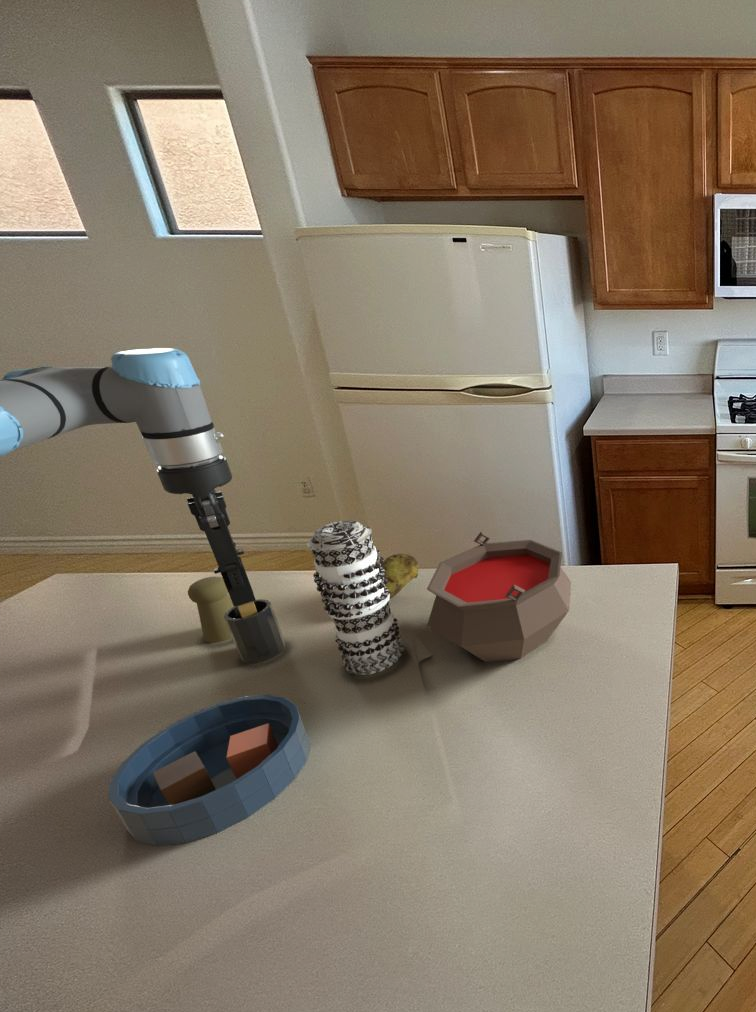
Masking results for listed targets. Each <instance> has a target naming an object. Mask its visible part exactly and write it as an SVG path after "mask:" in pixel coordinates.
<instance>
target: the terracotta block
mask: <svg viewBox="0 0 756 1012" xmlns="http://www.w3.org/2000/svg"><path fill="white" fill-rule="evenodd" d="M277 748H278V744H277V742H276V739H275V737H274V734H273V732H272V729H271V727H270V724H269V723H267V724H265V725H262V726H259V727H256V728H253V729H250V730H247V731H244V732H241V733H238V734H235V735H232V736H230V740H229V746H228V751H227V757H226V758H227V760H228V762H229V765H230V767H231V769H232V771H233V773H234V776H235V778H236V779H238V778H240V777H241V776H243V775H244V774H246V773H247V772H249V771H250V770H252V769H254V768H255V767H257V766H258V765H259V764H260V763H261V762H262V761H264V760H265V759H266V758H267V757H268V756H269V755H270V754H271V753H273V752H274V751H275V750H276V749H277Z"/></svg>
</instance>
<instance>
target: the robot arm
mask: <svg viewBox="0 0 756 1012" xmlns="http://www.w3.org/2000/svg"><path fill="white" fill-rule="evenodd" d="M110 362H111V364H112V365H111V366H81V367H80V366H75V367H73V366H71V367H69V366H68V367H53V366H40V367H33V368H21V369H20V368H19V369H15V370H11V371H8V372H7V373H6V374H4V375H3V378H1V379H0V457H3V456H6V455H8V454H9V453H13V452H15V451H18V450H20V449H24V448H26V447H28V446H31V445H34V444H37V443H39V442H42V441H45V440H49V439H51V438H54V437H58V436H60V435H64V434H67V433H69V432H72V431H75V430H77V429H81V428H84V427H88V426H93V425H106V424H109V425H110V424H131V423H136V425H137V428H138V430H139V432H140V434H141V438H142V442H143V444H144V446H145V448H146V451H147V454H148V455H149V458H150V460H151V462H152V464H153V465H156V466H157V468H156V469H155V472H156V473H157V476H158V478H159V480H160V483H161V486H162V488H163V490H164V491H165V492H166V493H169V494H172V495H183V494H187V495H188V494H189V495H191V497H187V498H186V501H187V506H188V509H189V511H190V513H191V515H192V516H194V517H195V521H196V522H197V525H198V528H199V530H200V531H201V532H204V534H205V536H206V538H207V541H208V544H209V546H210V549H211V551H212V553H213V556H214V558H215V561H216V564H217V566H218V567H215V568H213V573H214V575H216V574H219V573H220V575H221V577H222V578H223V580H224V583H225V585H226V588H227V590H228V595H229V596H230V598H231V600H232V603H233V606H234V607H236V606H239V605H242V604H246V603H249V602H252V601H255V600H257V599H256V597H255V594H254V591H253V590H254V589H253V588H252V584H251V582H250V580H249V577H248V574H247V571H246V569H245V566H244V563H243V560H242V558H241V555H244V554H245V552H244V549H243V548H239V549H237V548H236V546H237V544H236V542H234V540H233V537H232V534H231V532H230V529H229V526H230V525H231V521H230V517H229V514H228V512H227V504H226V501H225V497H224V495H223V492H222V491H216V490H215V489H217V488H218V487H219V488H221V487H224V486H225V485H227V484H229V483H230V482H231V481H232V479H233V474H232V471H231V468H230V465H229V463H228V460H227V458H226V456H223V455H222V453H224V450H223V447H222V445H221V442H220V440H222V439H224V437H225V436H224V434H223V433H222V432H221V431H220V432H219V431H217V432H216V428H215V426H214V422H213V420H212V418H211V415H210V412H209V408H208V405H207V402H206V400H205V396H204V393H203V390H202V387H201V380H200V378H199V377H198V376H197V374H196V371H195V369H194V366H193V365H192V362H191V360H190V357H189V356H188V354H186V352H184V351H183V350H180V349H178V348H173V347H171V348H170V347H155V348H154V347H153V348H137V349H129V350H122V351H117V352H115V353H113V354H112V355H111V357H110Z"/></svg>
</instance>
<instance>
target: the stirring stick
mask: <svg viewBox="0 0 756 1012" xmlns="http://www.w3.org/2000/svg"><path fill="white" fill-rule="evenodd" d="M237 607H238V609H239V612H240V614H241V617H242V618H246V617H249V616H252V615H255V614H257V613H258V612H257V609H256V606H255V604H254V601H252V602H249V603H246V604H242V605H239V606H237Z"/></svg>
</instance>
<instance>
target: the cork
mask: <svg viewBox="0 0 756 1012" xmlns="http://www.w3.org/2000/svg"><path fill="white" fill-rule="evenodd" d="M187 595H188V597H189V600H191V602H193V603H195V604H196V607H197V611H198V617H199V622H200V627H201V630H202V635H203V640H204V641H205V642H206V643H211V644H212V643H213V644H214V643H215V644H216V643H222V642H226V641H229V640H231V639H233V638H232V636H231V633H230V631H229V628H228V626H227V623H226V621H225V618H224V616H225V613H226V612H227V611H229V610H230V609H231V608H233V607H234V606H233V603H232V600H231V598H230V595H229V593H228V590H227V588H226V585H225V583H224V580H223V578H222V576H208V577H204V578H201V579H199V580H196V581H194V582H193V583H191V584H190V585H189V587H188V590H187Z"/></svg>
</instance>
